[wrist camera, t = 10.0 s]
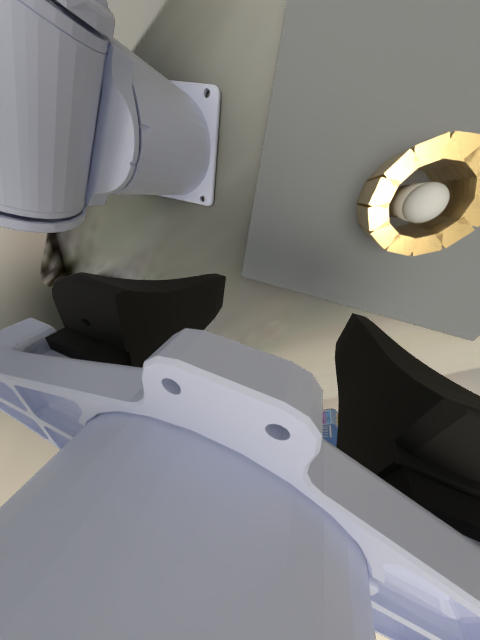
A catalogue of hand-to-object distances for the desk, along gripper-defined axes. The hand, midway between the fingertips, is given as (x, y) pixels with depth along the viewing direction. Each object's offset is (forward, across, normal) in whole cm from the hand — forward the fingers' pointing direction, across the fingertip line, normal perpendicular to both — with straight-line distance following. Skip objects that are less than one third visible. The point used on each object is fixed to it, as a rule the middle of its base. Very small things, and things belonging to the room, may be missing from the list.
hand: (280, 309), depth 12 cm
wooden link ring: (+10, -6, -6) cm, 13 cm away
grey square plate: (+10, -6, -6) cm, 13 cm away
